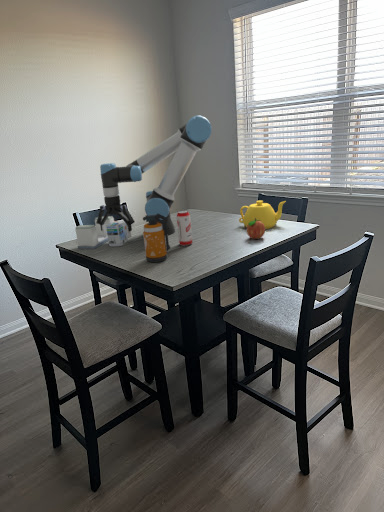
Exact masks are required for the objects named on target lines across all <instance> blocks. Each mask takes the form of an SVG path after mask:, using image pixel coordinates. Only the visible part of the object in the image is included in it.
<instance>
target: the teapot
mask: <svg viewBox="0 0 384 512" xmlns="http://www.w3.org/2000/svg"><path fill="white" fill-rule="evenodd" d="M286 202H287V201H286V200H284V201H281V202H279V204H278V205H277V206H278V208H277V211H276V212H275V210H274V208H273V207H272V206H271V204H269V203H267V202H264V200H256V202H255V203H252V204H249V206H248V205H243V206H241V208H240V209H239V213H240V216H241V217H239V218H238V221H239V223H240V224H243V226H244V227H245V228H247V226H248V224H249V222H251V221H254V220H255V218H256V220H260V221H261V222H262V223H263V224H264V226H265V230H269V229H273V228H274V227H275V226H276V224H277V223H278V221H279V220H281V217H282V212H283V211H282V210H283V205H284V204H285V203H286ZM243 209H246V211H245V213H243Z"/></svg>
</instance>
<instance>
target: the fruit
mask: <svg viewBox="0 0 384 512" xmlns="http://www.w3.org/2000/svg"><path fill="white" fill-rule="evenodd" d="M265 233H266V229H265V226H264V224H263V223H262V222H261V221H260V220H256V218H255V220H254V221H251V222H249V224H248V226H247V227H246V234H247V236H248V237H249V238H250V239H252V240H258V239H261V238H262V237H264V235H265Z"/></svg>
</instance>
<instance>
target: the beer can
mask: <svg viewBox="0 0 384 512" xmlns="http://www.w3.org/2000/svg"><path fill="white" fill-rule="evenodd" d="M176 221H177V222H176V223H177V224H176V225H177V231H178V233H177V234H178V243H179V245H180V246H182V247H187V246H191V245H192V243H193V234H192V225H191V214H190V212H189V210H179V211H177V214H176Z"/></svg>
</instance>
